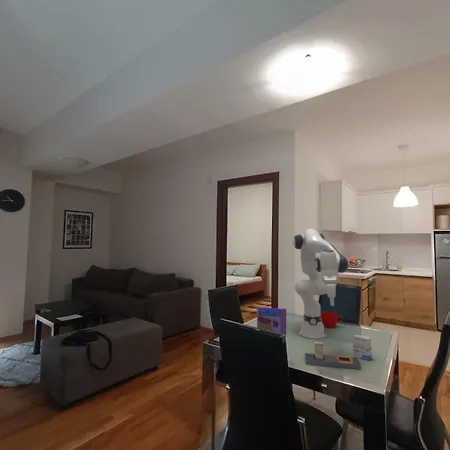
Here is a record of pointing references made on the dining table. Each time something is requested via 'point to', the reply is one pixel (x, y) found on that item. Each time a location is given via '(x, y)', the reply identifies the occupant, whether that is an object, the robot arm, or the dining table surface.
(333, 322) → the ceramic cup
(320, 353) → the peg
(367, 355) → the ink box
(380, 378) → the dining table surface
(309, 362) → the rail
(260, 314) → the cereal box
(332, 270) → the robot arm
